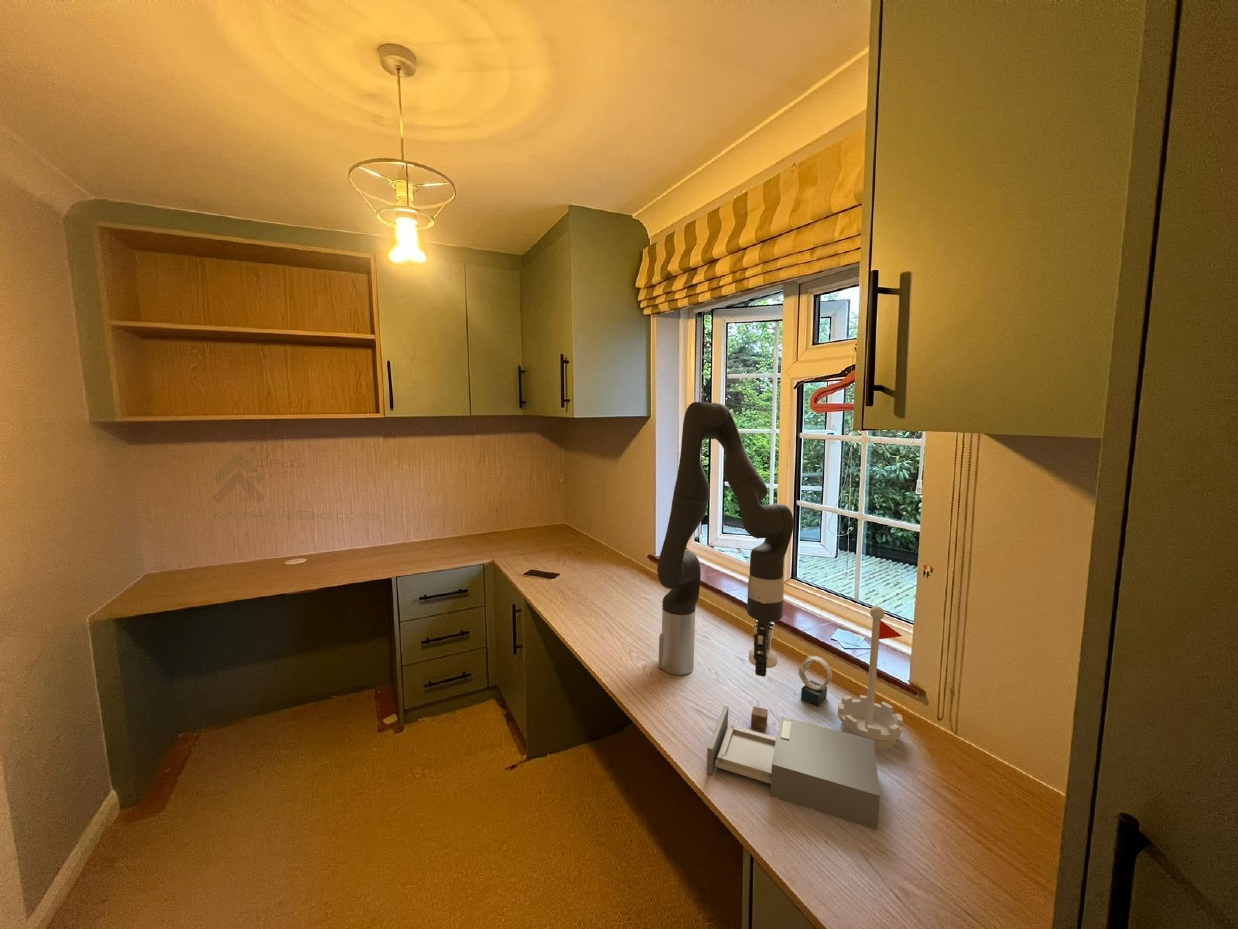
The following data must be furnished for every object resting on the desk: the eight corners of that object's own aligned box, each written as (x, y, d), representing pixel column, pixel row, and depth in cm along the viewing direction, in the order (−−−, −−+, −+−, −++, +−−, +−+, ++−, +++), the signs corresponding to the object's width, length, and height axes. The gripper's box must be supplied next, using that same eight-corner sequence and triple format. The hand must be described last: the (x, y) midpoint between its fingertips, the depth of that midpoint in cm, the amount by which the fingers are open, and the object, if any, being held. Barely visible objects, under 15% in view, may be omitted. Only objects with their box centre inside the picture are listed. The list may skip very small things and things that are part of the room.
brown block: (750, 728, 113) (751, 713, 112) (752, 720, 115) (753, 706, 115) (765, 731, 111) (765, 717, 111) (767, 723, 114) (767, 709, 114)
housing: (770, 795, 93) (772, 763, 92) (779, 744, 107) (780, 715, 107) (877, 830, 86) (880, 794, 85) (871, 769, 100) (873, 738, 99)
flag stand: (828, 734, 111) (837, 607, 108) (846, 708, 121) (855, 591, 117) (892, 762, 102) (904, 624, 99) (906, 732, 112) (917, 606, 109)
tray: (706, 773, 98) (707, 747, 97) (723, 728, 112) (724, 705, 111) (802, 803, 91) (804, 776, 90) (807, 751, 105) (808, 727, 104)
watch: (802, 688, 129) (804, 648, 128) (833, 701, 124) (836, 659, 122) (793, 697, 125) (795, 656, 124) (824, 710, 120) (827, 668, 118)
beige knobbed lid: (746, 664, 107) (747, 657, 107) (750, 652, 112) (751, 645, 112) (775, 670, 105) (775, 662, 104) (778, 657, 110) (778, 650, 110)
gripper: (752, 582, 115) (749, 650, 117) (742, 603, 102) (739, 680, 103) (786, 586, 112) (782, 657, 114) (780, 609, 99) (777, 688, 101)
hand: (762, 667), depth 109 cm, fingers closed on beige knobbed lid, 6 cm apart
